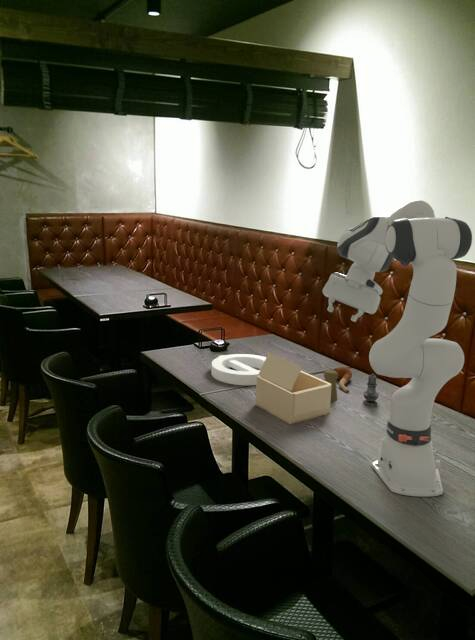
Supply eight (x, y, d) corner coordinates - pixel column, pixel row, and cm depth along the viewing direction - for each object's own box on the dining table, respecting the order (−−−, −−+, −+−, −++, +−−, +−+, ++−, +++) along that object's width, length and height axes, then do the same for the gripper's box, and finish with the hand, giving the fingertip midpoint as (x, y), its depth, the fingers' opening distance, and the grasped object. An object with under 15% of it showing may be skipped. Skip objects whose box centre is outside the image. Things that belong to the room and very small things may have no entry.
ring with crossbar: (273, 388, 225) (274, 377, 224) (205, 382, 229) (205, 371, 228) (279, 366, 252) (280, 356, 251) (218, 362, 256) (218, 352, 255)
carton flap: (259, 375, 204) (269, 353, 204) (290, 391, 189) (302, 366, 190) (258, 374, 203) (268, 352, 204) (289, 390, 189) (301, 366, 189)
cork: (319, 399, 214) (320, 371, 211) (324, 394, 219) (326, 367, 217) (334, 402, 211) (336, 374, 209) (339, 397, 216) (341, 370, 214)
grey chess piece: (378, 406, 209) (381, 375, 206) (362, 404, 210) (364, 374, 207) (377, 400, 214) (380, 370, 211) (362, 399, 215) (364, 369, 212)
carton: (293, 394, 218) (295, 367, 215) (331, 413, 201) (333, 384, 198) (254, 404, 207) (255, 376, 205) (291, 425, 190) (293, 394, 188)
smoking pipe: (349, 377, 240) (350, 364, 238) (360, 393, 222) (361, 379, 220) (332, 377, 239) (333, 364, 238) (342, 393, 221) (343, 379, 220)
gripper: (329, 267, 197) (312, 303, 197) (382, 286, 186) (364, 324, 186) (335, 273, 203) (319, 308, 202) (387, 292, 192) (369, 328, 191)
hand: (341, 316), depth 194 cm, fingers open, 8 cm apart
